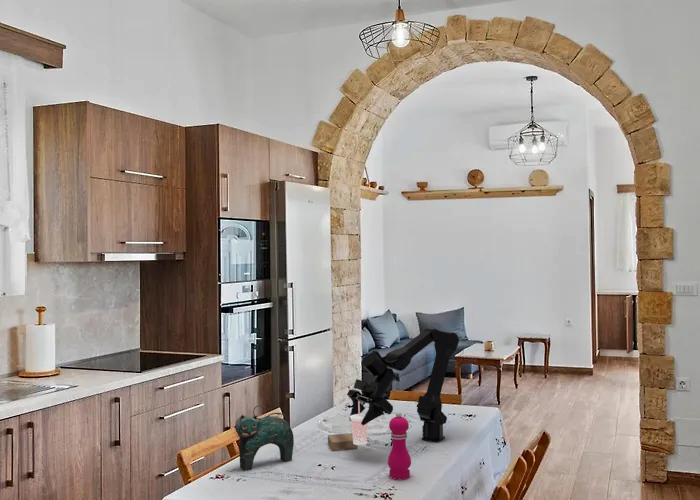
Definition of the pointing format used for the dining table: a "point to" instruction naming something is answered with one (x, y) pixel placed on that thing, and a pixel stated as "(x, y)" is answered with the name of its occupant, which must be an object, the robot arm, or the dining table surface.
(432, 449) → the dining table surface
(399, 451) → the pepper mill
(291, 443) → the ceramic cat
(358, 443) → the beverage cup
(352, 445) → the walnut block
